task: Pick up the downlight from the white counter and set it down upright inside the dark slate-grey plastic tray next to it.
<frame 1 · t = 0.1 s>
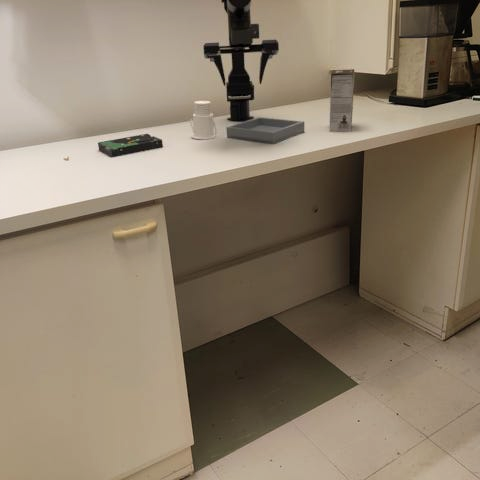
hand: (242, 84, 123), 15 cm above the countertop, tool pointing down, fingers open, 9 cm apart
disk drive: (131, 151, 132), on the countertop
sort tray: (265, 134, 139), on the countertop
downlight: (204, 137, 140), on the countertop
coffee box: (340, 128, 142), on the countertop
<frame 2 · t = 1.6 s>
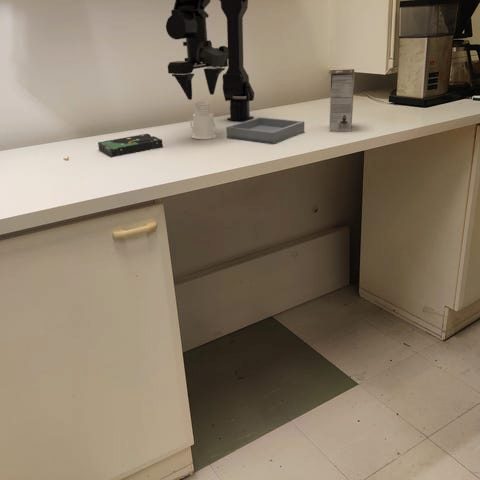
hand: (201, 97, 135), 11 cm above the countertop, tool pointing down, fingers open, 9 cm apart
nothing on the countertop moved.
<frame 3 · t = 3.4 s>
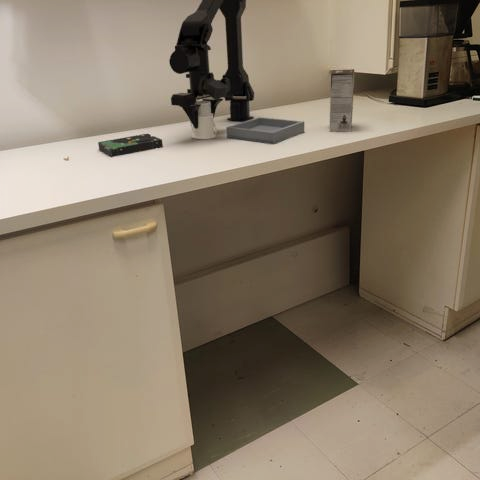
hand: (203, 126, 139), 3 cm above the countertop, tool pointing down, fingers closed on downlight, 6 cm apart
downlight: (204, 137, 140), on the countertop, touching gripper
everything else where it was.
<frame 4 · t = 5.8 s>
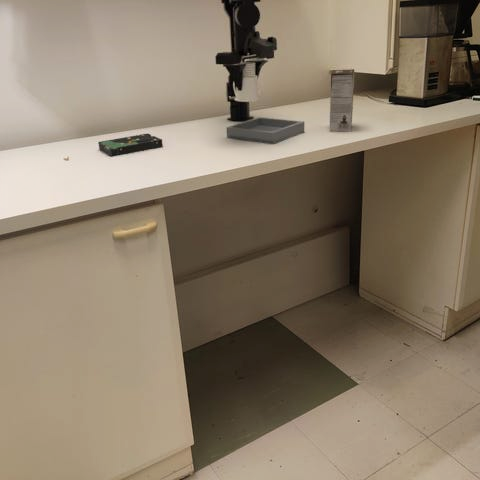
hand: (246, 88, 133), 13 cm above the countertop, tool pointing down, fingers closed on downlight, 6 cm apart
downlight: (247, 100, 135), point 10 cm above the countertop, touching gripper
everything else where it was.
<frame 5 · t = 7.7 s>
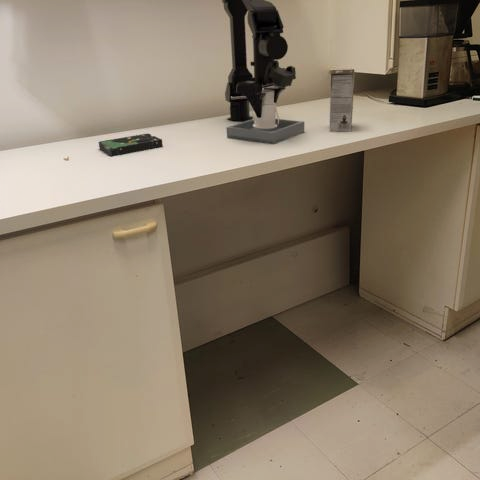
hand: (265, 115, 136), 5 cm above the countertop, tool pointing down, fingers closed on downlight, 6 cm apart
downlight: (265, 127, 138), point 2 cm above the countertop, touching gripper
everything else where it was.
when the fingers open (5 cm above the countertop, at t = 8.4 s): downlight drops 2 cm, resting on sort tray.
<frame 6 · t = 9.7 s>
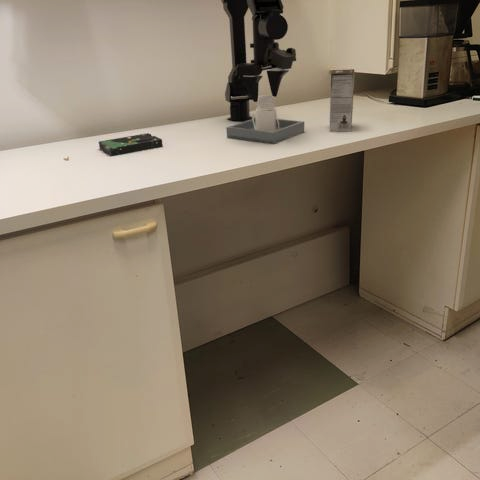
hand: (265, 99, 134), 10 cm above the countertop, tool pointing down, fingers open, 9 cm apart
downlight: (265, 132, 138), point 1 cm above the countertop, touching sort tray
everything else where it was.
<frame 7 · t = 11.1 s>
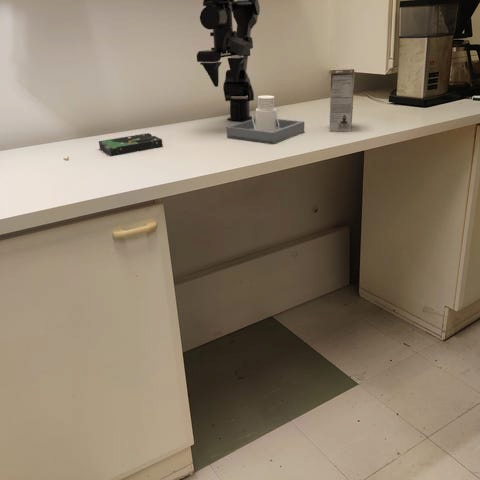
hand: (226, 84, 145), 13 cm above the countertop, tool pointing down, fingers open, 9 cm apart
nothing on the countertop moved.
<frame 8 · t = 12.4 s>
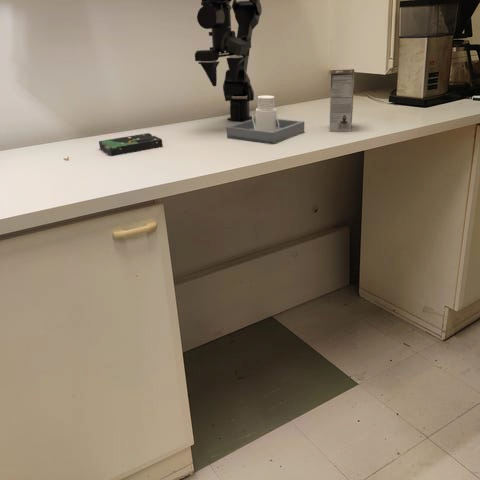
hand: (224, 84, 145), 13 cm above the countertop, tool pointing down, fingers open, 9 cm apart
at the end: downlight inside the target area on the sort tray (0.0 cm from its centre), point 0.6 cm above the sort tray's base; downlight tilted 0°; the gripper is holding nothing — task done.
